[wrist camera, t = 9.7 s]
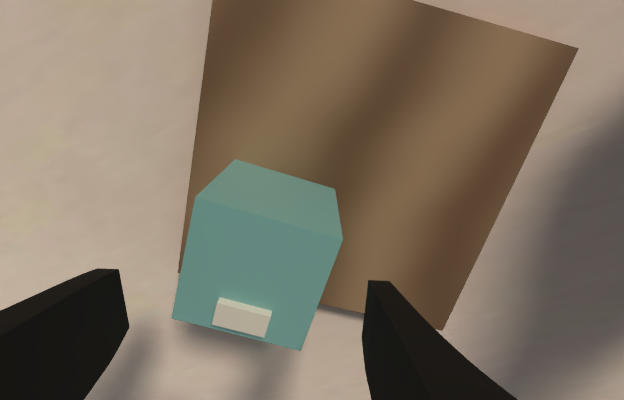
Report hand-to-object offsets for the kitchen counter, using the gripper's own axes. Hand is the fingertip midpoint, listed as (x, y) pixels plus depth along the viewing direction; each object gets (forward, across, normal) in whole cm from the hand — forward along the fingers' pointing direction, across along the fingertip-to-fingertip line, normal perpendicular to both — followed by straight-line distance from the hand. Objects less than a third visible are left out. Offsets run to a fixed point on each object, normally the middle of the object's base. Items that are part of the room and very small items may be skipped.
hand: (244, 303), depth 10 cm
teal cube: (+6, 0, 0) cm, 6 cm away
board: (+7, -4, -2) cm, 8 cm away
